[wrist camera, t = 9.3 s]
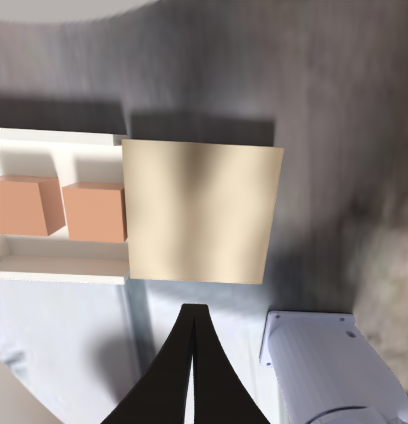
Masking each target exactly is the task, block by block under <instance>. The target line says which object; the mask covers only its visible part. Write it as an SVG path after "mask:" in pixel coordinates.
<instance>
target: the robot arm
mask: <svg viewBox="0 0 408 424" xmlns="http://www.w3.org/2000/svg"><path fill="white" fill-rule="evenodd" d="M277 315H279V316H277ZM354 322H355V317H354V316H353V315H352V314H337V313H313V312H289V311H270V312H269V313H268V317H267V323H266V328H265V334H264V339H263V345H262V350H261V356H260V365H261V366H262V367H274V370H275V373H276V377H277V380H278V383H279V387H280V390H281V393H282V396H283V400H284V403H285V406H286V409H287V413H288V416H289V419H290V422H291V424H408V397H407V395H406V393H405V391H404V389H403V387H402V385H401V384H400V382H399V380H398V379H397V377H396V376H395V375H394V373H393V372H392V371H391V370H390V368H389V367H388V366H387V365H386V364H385V362H384V361H383V360H382V359H381V357H380V356H379V355H378V354H377V352H376V351H375V350H374V349H373V347H372V346H371V345H370V344H369V343H368V341H367V340H366V339H365V338H364V336H363V335H362V334H361V333H360V331H359V330H358V329H357V328H356V327H355V325H354ZM192 355H193V379H194V424H270V422H269V421H268V420H267V418H266V417H265V416H264V414H263V413H262V412H261V410H260V409H259V408H258V406H257V405H256V404H255V402H254V401H253V399H252V398H251V396H250V395H249V393H248V392H247V390H246V389H245V387H244V386H243V384H242V383H241V381H240V379H239V378H238V376H237V374H236V373H235V371H234V369H233V367H232V366H231V364H230V362H229V360H228V358H227V356H226V354H225V352H224V350H223V348H222V346H221V344H220V341H219V339H218V336H217V334H216V332H215V329H214V326H213V323H212V320H211V317H210V313H209V309H208V306H207V305H206V304H183V305H182V307H181V310H180V313H179V315H178V318H177V320H176V322H175V324H174V326H173V328H172V330H171V332H170V334H169V336H168V338H167V340H166V341H165V343H164V345H163V346H162V348H161V350H160V351H159V353H158V354H157V356H156V357H155V359H154V360H153V362H152V363H151V365H150V366H149V368H148V369H147V370H146V372H145V373H144V374H143V376H142V377H141V378H140V380H139V381H138V382H137V383H136V385H135V386H134V387H133V388H132V390H131V391H130V392H129V393H128V394H127V395H126V397H125V398H124V399H123V400H122V401H121V402H120V403H119V405H118V406H117V407H116V408H115V409H114V410H113V411H112V412H111V413H110V414H109V415H108V416H107V417H106V418H105V419H104V420H103V422H102V423H101V424H184V418H185V407H186V399H187V391H188V384H189V377H190V369H191V362H192Z"/></svg>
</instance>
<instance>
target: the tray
mask: <svg viewBox="0 0 408 424" xmlns="http://www.w3.org/2000/svg"><path fill="white" fill-rule="evenodd" d="M121 139H127V135H117V134H99V133H81V132H63V131H45V130H27V129H9V128H0V176H3V175H19V176H38V177H58V178H59V184H60V190H61V197H62V203H63V209H64V215H65V222H66V226H64V227H63V228H61V229H59V230H58V231H56V232H54V233H53V234H51V235H50V236H48V237H47V236H26V235H4V234H0V279H8V280H31V281H54V282H77V283H100V284H123V285H124V284H125V282H126V280H127V279H128V277H129V275H130V265H129V250H128V238H127V240H126V241H125V242H124V243H116V242H94V241H73V240H70V238H69V232H68V226H67V219H66V213H65V207H64V200H63V194H62V188H61V187H64V186H67V185H70V184H73V183H76V182H99V183H118V184H124V172H123V157H122V141H121Z"/></svg>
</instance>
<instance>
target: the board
mask: <svg viewBox="0 0 408 424" xmlns="http://www.w3.org/2000/svg"><path fill="white" fill-rule="evenodd" d="M121 141H122V157H123V172H124V188H125V203H126V219H127V234H128V250H129V265H130V278H132V279H154V280H177V281H200V282H223V283H246V284H262V280H263V274H264V268H265V262H266V256H267V250H268V243H269V237H270V231H271V225H272V219H273V212H274V206H275V200H276V194H277V188H278V182H279V175H280V169H281V163H282V157H283V151H284V148H280V147H267V146H249V145H231V144H212V143H194V142H176V141H158V140H139V139H121Z"/></svg>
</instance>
